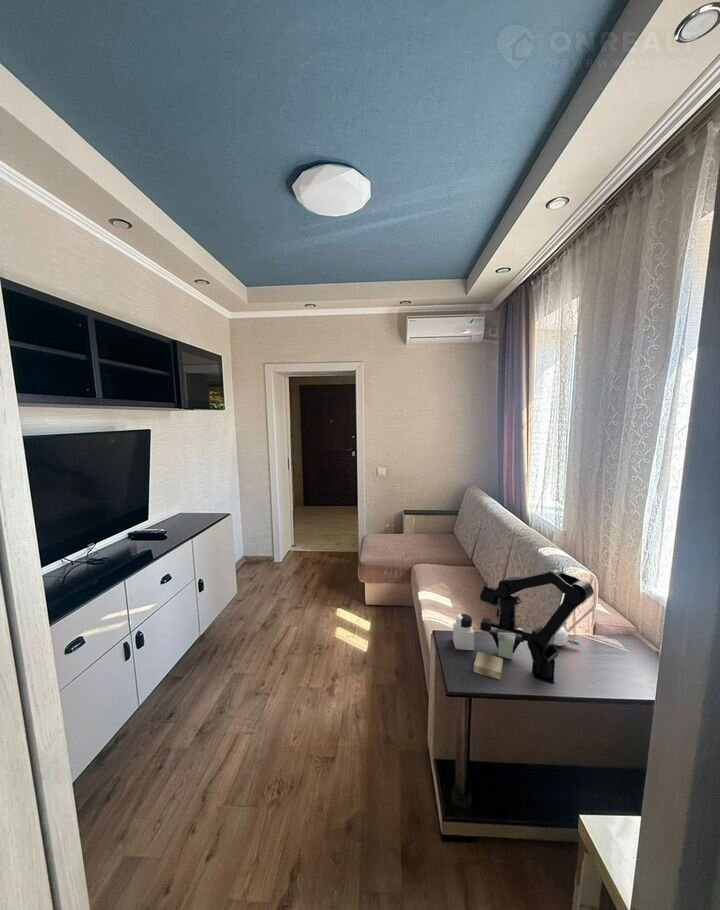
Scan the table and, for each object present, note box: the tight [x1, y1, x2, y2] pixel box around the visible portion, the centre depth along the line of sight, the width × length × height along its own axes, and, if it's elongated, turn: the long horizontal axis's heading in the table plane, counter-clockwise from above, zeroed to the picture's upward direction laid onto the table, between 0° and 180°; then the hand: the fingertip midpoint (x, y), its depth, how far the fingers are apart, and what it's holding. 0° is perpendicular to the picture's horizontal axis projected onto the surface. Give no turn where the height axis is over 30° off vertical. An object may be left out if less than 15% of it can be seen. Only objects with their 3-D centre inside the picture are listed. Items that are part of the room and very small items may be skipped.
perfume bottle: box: [553, 626, 580, 647], centre depth 149 cm, size 8×8×12 cm
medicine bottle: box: [452, 613, 475, 651], centre depth 147 cm, size 7×7×12 cm
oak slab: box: [473, 651, 504, 680], centre depth 133 cm, size 9×9×3 cm
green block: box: [497, 633, 515, 660], centre depth 140 cm, size 5×5×6 cm
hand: (505, 650), depth 140 cm, fingers closed on green block, 5 cm apart
